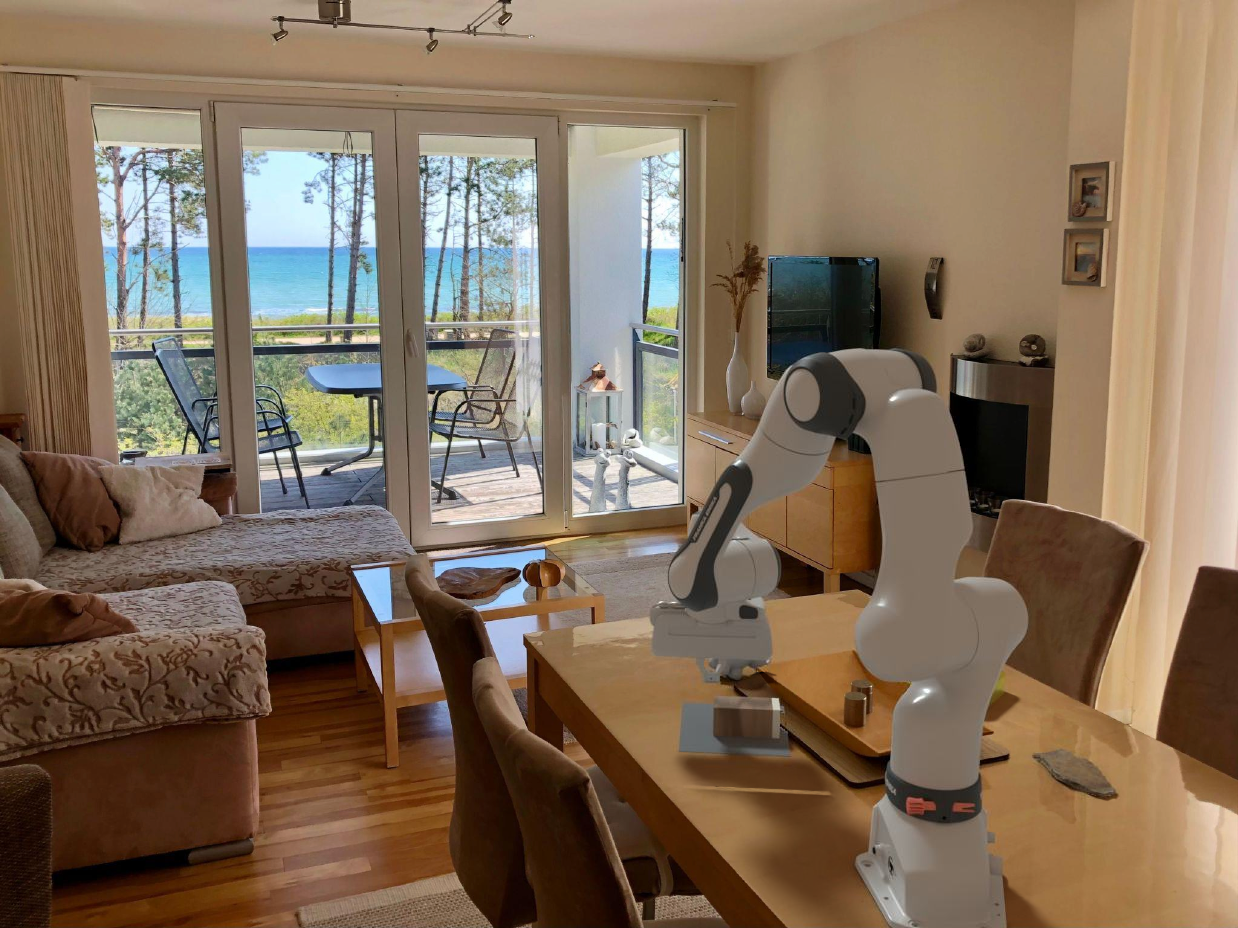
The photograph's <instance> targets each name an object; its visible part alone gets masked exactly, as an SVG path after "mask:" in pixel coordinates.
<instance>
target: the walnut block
mask: <svg viewBox="0 0 1238 928" xmlns="http://www.w3.org/2000/svg"><path fill="white" fill-rule="evenodd" d="M713 703H714V713H713V736H732V737H756V738H779V735H780V706H781V704H780V698H779V697H778V698H776V697H758V696H757V697H755V696H754V697H752V696H751V697H750V696H730V695H729V696H728V695H727V696H726V695H713Z"/></svg>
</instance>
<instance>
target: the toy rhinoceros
mask: <svg viewBox="0 0 1238 928" xmlns="http://www.w3.org/2000/svg"><path fill="white" fill-rule="evenodd" d="M771 663H772V656H771V657H770V658H769V659H768V660H742V659H727V665H726V666H725V668H724V669H723V671H722V672H721V674H720V676H721V675H722V676H728V677H729V678H730V679H733V680H735V681H739V680H741V679H742V676H743V671H744V669H745V668H747V667H749V668H751V669H754V671H755V672H756V673H758V672H757V667H762V666H764V665H769V664H770V665H771ZM707 665H708V667H709V668H711V669H712V670H716V669H717V667H718V666H719V664H718V659H713V658H708V662H707ZM770 665H769V666H770Z"/></svg>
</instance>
